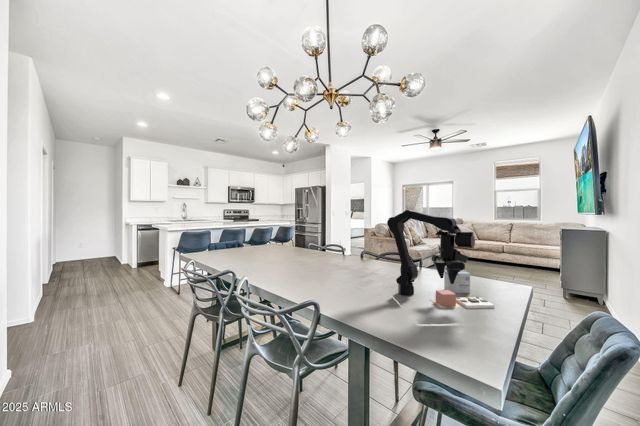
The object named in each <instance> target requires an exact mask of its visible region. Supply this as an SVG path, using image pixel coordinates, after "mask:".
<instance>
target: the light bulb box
mask: <svg viewBox="0 0 640 426" xmlns="http://www.w3.org/2000/svg"><path fill="white" fill-rule="evenodd" d="M443 278H444V279H443V280H444V289H443V290H450V291H451V292H453V293H455V294H458V293H459V294H471V273H470V272H469V271H466V270H462V271H460V272H458V274H457V276H456V279H455V281H454V284H451V283H450V280H449V277H448V273H447V270H446V269H444V276H443Z"/></svg>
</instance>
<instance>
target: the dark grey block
mask: <svg viewBox="0 0 640 426" xmlns="http://www.w3.org/2000/svg"><path fill="white" fill-rule="evenodd" d="M468 301H470V302H472V303H479V301H478V300H477V299H468Z"/></svg>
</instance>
